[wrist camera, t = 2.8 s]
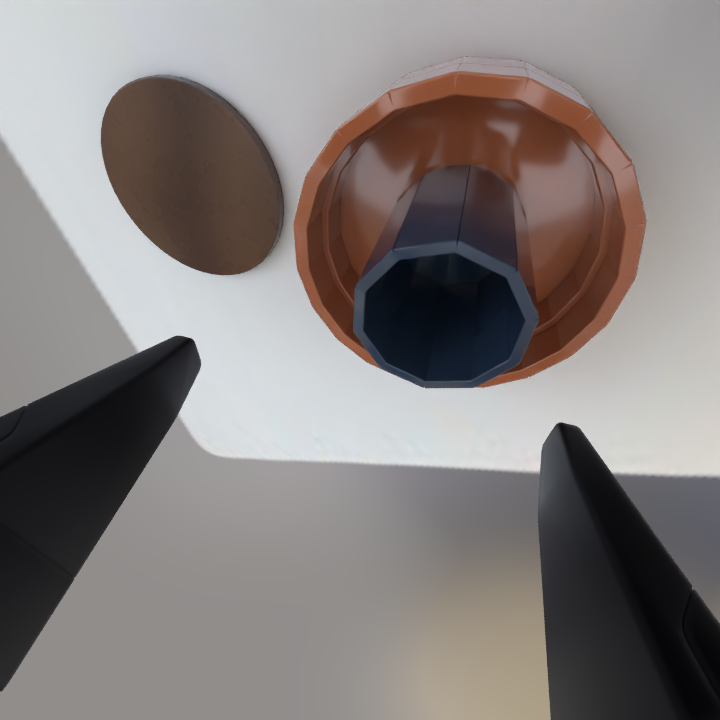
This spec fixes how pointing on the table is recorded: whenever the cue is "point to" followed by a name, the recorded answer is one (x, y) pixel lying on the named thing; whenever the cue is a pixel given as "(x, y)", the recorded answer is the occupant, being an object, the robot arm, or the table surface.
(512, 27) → the table surface
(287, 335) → the table surface
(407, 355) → the cup
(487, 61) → the bowl
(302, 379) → the table surface
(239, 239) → the coaster
